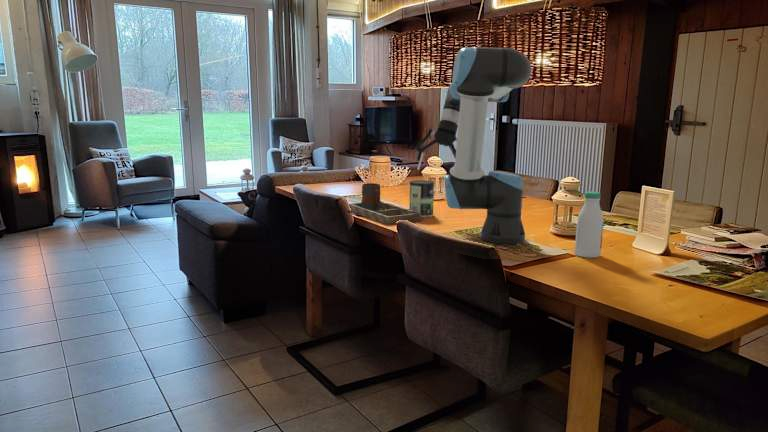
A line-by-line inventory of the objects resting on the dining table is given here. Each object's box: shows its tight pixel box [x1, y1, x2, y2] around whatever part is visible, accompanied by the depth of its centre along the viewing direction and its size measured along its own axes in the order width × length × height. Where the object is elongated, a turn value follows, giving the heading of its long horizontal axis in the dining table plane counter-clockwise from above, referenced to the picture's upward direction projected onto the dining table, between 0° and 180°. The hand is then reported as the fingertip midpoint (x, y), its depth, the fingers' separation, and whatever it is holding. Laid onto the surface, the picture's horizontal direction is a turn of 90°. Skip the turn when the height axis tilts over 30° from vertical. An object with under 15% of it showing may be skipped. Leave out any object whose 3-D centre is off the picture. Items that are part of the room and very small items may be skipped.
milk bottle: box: [574, 190, 604, 259], centre depth 173 cm, size 8×8×20 cm
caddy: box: [348, 200, 422, 226], centre depth 231 cm, size 32×16×3 cm, turn 32°
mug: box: [360, 182, 382, 211], centre depth 237 cm, size 9×12×12 cm
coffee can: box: [408, 179, 435, 218], centre depth 232 cm, size 10×10×14 cm
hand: (435, 174), depth 216 cm, fingers open, 13 cm apart
